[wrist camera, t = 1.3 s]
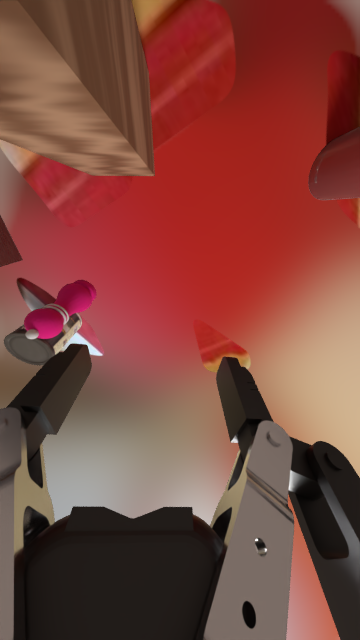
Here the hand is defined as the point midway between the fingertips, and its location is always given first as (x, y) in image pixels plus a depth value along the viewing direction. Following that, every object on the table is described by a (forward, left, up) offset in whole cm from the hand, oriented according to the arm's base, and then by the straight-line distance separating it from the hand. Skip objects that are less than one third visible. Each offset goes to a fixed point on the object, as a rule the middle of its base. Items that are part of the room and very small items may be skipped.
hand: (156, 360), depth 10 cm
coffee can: (+34, +20, -35) cm, 53 cm away
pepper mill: (+25, +11, -35) cm, 44 cm away
